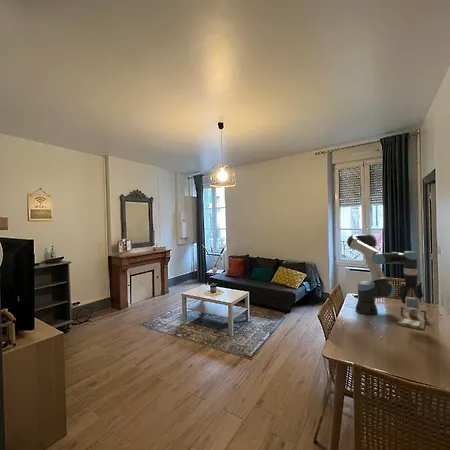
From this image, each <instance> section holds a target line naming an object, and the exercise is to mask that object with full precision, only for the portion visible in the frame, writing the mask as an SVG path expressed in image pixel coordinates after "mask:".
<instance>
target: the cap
mask: <svg viewBox="0 0 450 450" xmlns="http://www.w3.org/2000/svg"><path fill="white" fill-rule="evenodd" d="M406 299H407V308H416V309H417V310H418V309H420V303H419V301H418V299H417V298H415V297H413V296H406Z"/></svg>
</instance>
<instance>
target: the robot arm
mask: <svg viewBox="0 0 450 450" xmlns="http://www.w3.org/2000/svg"><path fill="white" fill-rule="evenodd" d="M377 242H378V241H377V238H376V237H375V236H374V235H373V234H371V233H365V234H352V235H350V236H348V238H347V240H346V243H347V246H348V247H349V248H350V249H352V250H354V251H358V252H359V253H361V254H363V255H364V259H365V261H366V264H367V267H368V270H369V273H370V276H371V278H372V280H362V281H359V282H358V284H357V303H356V306H355V312H357V314H358V313H359V314H361V315H366V316H376V315H378V313H379V312H378V311H379V310H378V308H377V305H376V299H387V298H392V297H393V296H394V295H395V292H396V288H395V284H393V283H392V282H391V281H389V279H388V278H386V277H385V274H384V272H383V270H382V267H381V265H386V264H387V265H389V264H400V265H403V280H404V281H403V282H400V283H399V292H398V298H401V303H402V306H403V308H406V309H408V307H407V299H406V297H408V293H409V291H410V290H411V289H412V291H413V293H414V295H415V297H414V298H417V299H418V301H419V304H421V299H422V298H424V294H423V287H422V282H420V281H418V280H419V278H418V277H419V276H418V253H417V251H412V250H411V251H410V250H405V251H403V252H398V251H392V252H382V251H381V250H378V249H376V246H377ZM406 309H405V310H406Z"/></svg>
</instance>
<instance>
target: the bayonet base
mask: <svg viewBox="0 0 450 450" xmlns="http://www.w3.org/2000/svg"><path fill="white" fill-rule="evenodd" d="M404 310H406V308H403V305H402V306H400V317H399V320H398V321H397V325H398V326H401V327H402V326H403V327H407V328H411V329H416V330H421V331H424V330H425V327H426V326H425V325H426V320H427V310H425V309H420V312H421V313H423V315H422V314H419V313H418V309H416V308H410V307H408V312H407V311H405V312H404Z"/></svg>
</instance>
